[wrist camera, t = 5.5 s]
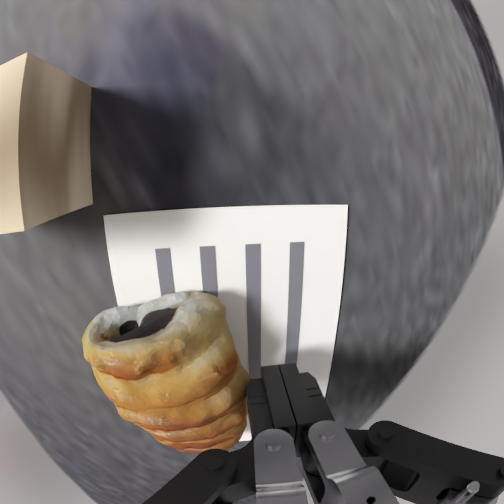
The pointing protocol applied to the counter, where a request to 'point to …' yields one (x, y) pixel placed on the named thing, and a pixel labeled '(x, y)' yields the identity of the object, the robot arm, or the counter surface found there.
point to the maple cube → (42, 143)
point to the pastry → (172, 369)
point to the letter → (243, 274)
